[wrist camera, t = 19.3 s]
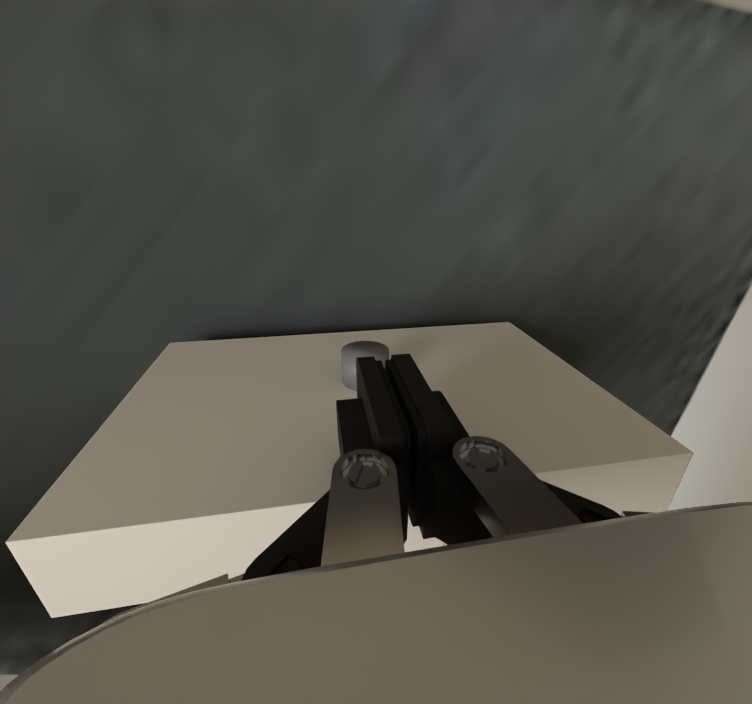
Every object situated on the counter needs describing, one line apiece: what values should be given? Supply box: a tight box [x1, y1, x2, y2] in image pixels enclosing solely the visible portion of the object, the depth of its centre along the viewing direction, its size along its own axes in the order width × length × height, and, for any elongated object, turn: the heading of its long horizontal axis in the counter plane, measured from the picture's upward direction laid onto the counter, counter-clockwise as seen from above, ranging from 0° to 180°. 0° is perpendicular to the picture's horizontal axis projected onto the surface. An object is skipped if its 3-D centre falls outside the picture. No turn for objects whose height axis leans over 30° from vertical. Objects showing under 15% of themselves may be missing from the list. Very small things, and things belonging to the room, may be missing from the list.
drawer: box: [5, 322, 693, 618], centre depth 20 cm, size 19×24×12 cm
